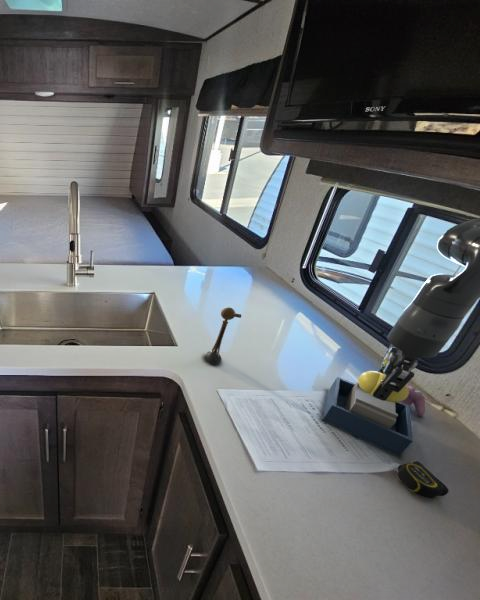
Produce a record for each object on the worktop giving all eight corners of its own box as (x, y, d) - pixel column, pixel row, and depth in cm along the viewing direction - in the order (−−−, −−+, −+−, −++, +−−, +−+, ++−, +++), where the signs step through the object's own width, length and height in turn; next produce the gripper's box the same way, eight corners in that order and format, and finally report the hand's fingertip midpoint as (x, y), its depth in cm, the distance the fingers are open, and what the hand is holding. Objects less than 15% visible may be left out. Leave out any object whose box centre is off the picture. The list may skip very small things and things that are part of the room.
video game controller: (414, 412, 90) (423, 389, 89) (425, 418, 86) (434, 393, 85) (371, 399, 93) (379, 377, 92) (379, 405, 89) (388, 381, 88)
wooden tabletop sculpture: (223, 358, 104) (242, 306, 94) (224, 367, 100) (244, 314, 90) (204, 354, 105) (220, 302, 95) (204, 363, 102) (221, 310, 91)
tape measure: (443, 499, 68) (455, 489, 66) (416, 503, 67) (427, 493, 65) (411, 468, 74) (420, 458, 72) (385, 471, 73) (394, 461, 71)
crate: (397, 420, 85) (409, 405, 82) (399, 456, 76) (413, 441, 73) (328, 390, 94) (337, 376, 91) (322, 420, 84) (332, 405, 81)
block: (379, 417, 86) (396, 394, 82) (378, 442, 79) (398, 419, 75) (343, 401, 90) (358, 379, 86) (340, 423, 84) (356, 401, 79)
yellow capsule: (401, 394, 70) (414, 379, 67) (400, 411, 67) (413, 397, 64) (355, 376, 75) (366, 362, 71) (352, 392, 72) (363, 378, 69)
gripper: (456, 354, 55) (402, 420, 63) (445, 319, 64) (399, 380, 73) (399, 336, 59) (355, 400, 67) (397, 305, 68) (358, 365, 77)
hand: (378, 389), depth 70 cm, fingers closed on yellow capsule, 5 cm apart
